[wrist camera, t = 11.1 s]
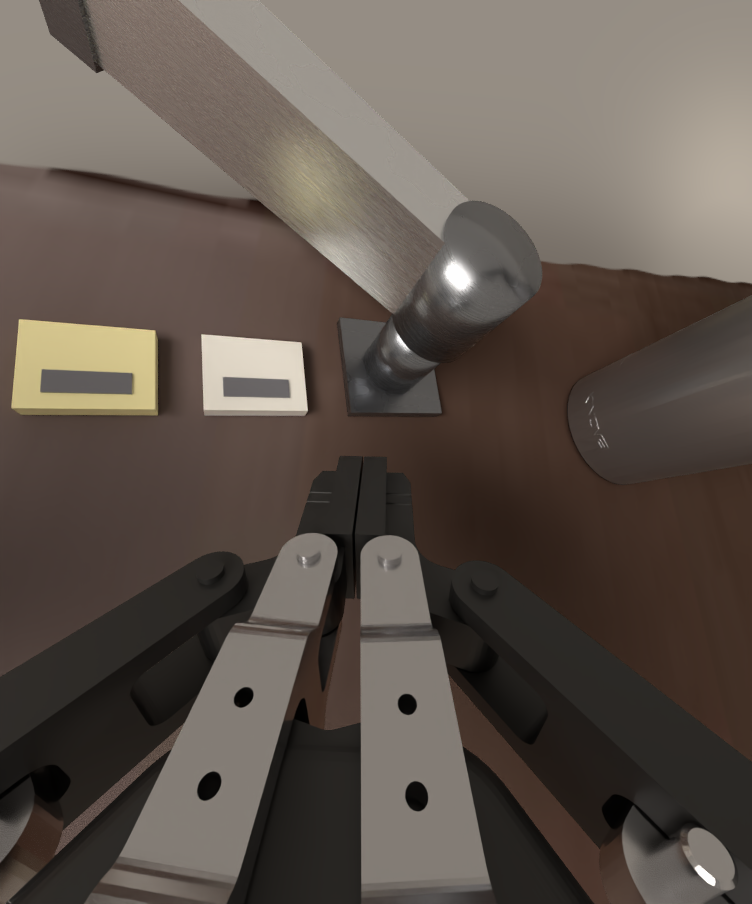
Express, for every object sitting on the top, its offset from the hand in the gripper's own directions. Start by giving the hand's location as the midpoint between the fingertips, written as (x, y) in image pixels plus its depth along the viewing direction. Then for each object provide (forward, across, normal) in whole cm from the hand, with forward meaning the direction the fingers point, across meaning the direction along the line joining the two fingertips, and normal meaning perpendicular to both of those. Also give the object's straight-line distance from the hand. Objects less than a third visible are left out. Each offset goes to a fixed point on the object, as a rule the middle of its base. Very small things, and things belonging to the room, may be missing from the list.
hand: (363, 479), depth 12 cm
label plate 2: (+9, +6, 0) cm, 11 cm away
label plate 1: (+6, +13, -1) cm, 14 cm away
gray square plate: (+13, -1, 0) cm, 13 cm away
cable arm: (+10, +4, -8) cm, 14 cm away
